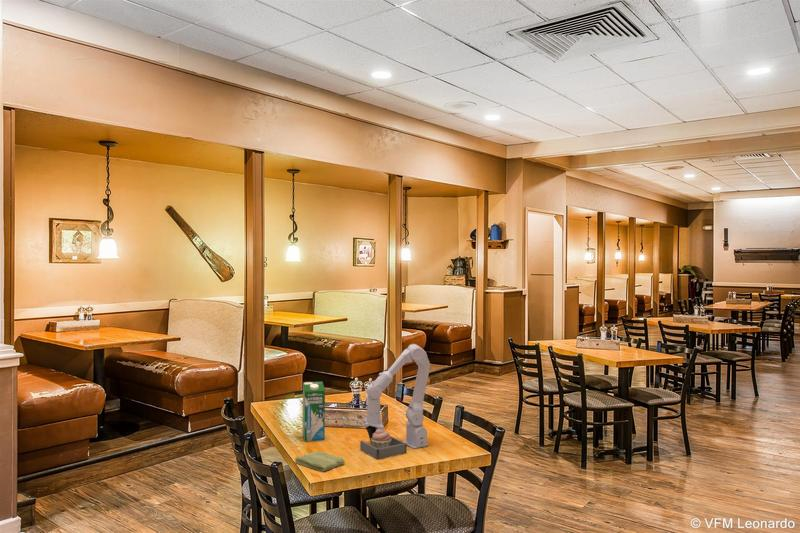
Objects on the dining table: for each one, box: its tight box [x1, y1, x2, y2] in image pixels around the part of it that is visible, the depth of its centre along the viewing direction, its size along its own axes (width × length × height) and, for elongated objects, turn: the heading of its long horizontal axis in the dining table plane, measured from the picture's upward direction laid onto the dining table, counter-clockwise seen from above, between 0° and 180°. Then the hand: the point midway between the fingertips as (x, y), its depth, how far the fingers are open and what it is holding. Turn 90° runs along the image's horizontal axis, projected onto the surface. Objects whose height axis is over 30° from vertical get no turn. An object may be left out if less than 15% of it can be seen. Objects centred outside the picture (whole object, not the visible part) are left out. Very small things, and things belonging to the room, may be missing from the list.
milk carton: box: [302, 381, 326, 442], centre depth 261 cm, size 9×9×25 cm
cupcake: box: [369, 428, 391, 449], centre depth 245 cm, size 9×9×10 cm
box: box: [359, 435, 408, 460], centre depth 244 cm, size 14×15×4 cm
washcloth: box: [294, 451, 346, 473], centre depth 229 cm, size 13×18×3 cm
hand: (373, 443), depth 250 cm, fingers closed
